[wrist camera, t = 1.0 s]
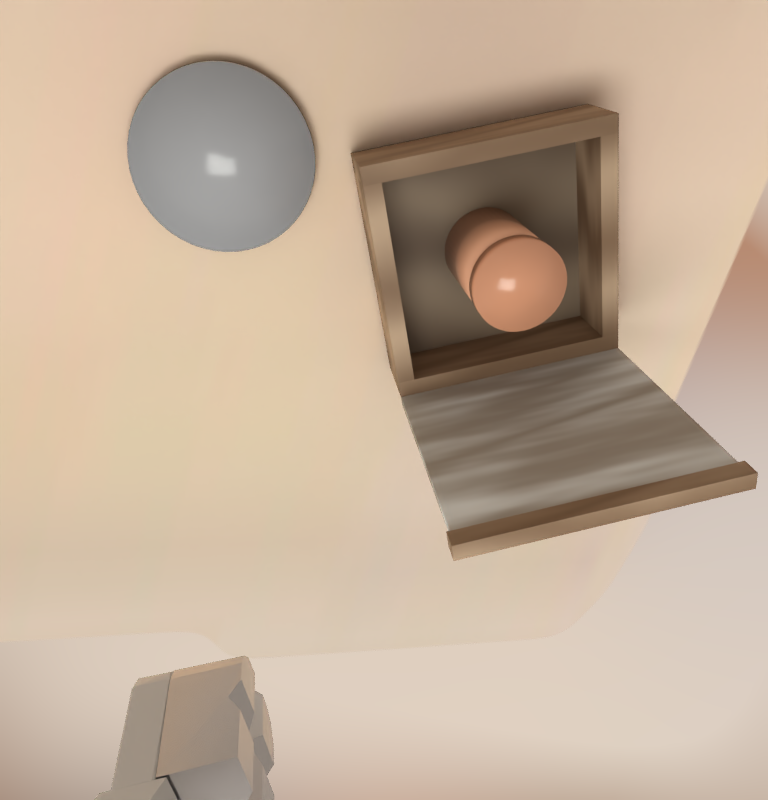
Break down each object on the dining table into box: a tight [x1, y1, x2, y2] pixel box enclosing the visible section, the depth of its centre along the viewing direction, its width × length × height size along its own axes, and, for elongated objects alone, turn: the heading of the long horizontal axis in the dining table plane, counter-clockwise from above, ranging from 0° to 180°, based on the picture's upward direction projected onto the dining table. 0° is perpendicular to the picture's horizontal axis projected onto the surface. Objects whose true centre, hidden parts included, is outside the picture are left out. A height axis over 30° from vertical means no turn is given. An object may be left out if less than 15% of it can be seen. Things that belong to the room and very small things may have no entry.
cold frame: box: [351, 104, 758, 561], centre depth 36 cm, size 15×14×18 cm
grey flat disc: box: [127, 61, 315, 252], centre depth 39 cm, size 10×10×1 cm
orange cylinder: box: [445, 207, 567, 332], centre depth 40 cm, size 5×5×7 cm
